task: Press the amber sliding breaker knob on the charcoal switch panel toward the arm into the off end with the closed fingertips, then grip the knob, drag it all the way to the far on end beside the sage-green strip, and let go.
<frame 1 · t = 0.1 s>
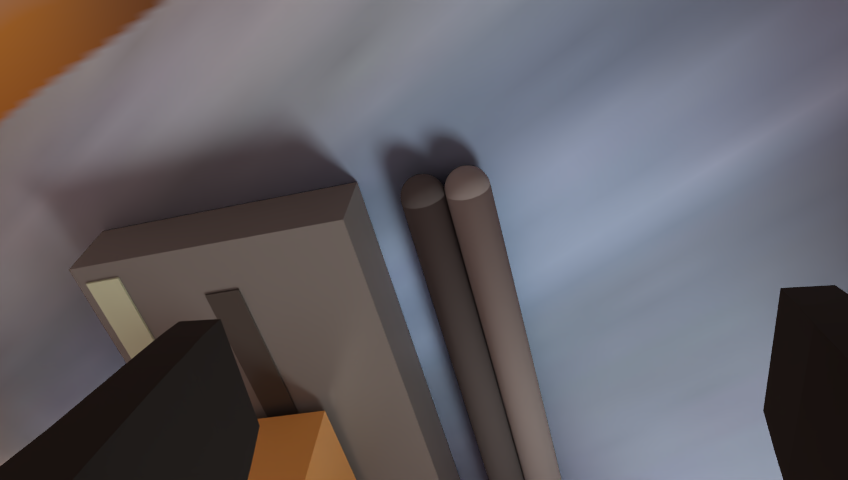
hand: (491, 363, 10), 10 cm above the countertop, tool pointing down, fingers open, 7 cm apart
switch panel: (316, 407, 25), on the countertop
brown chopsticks: (502, 384, 23), on the countertop
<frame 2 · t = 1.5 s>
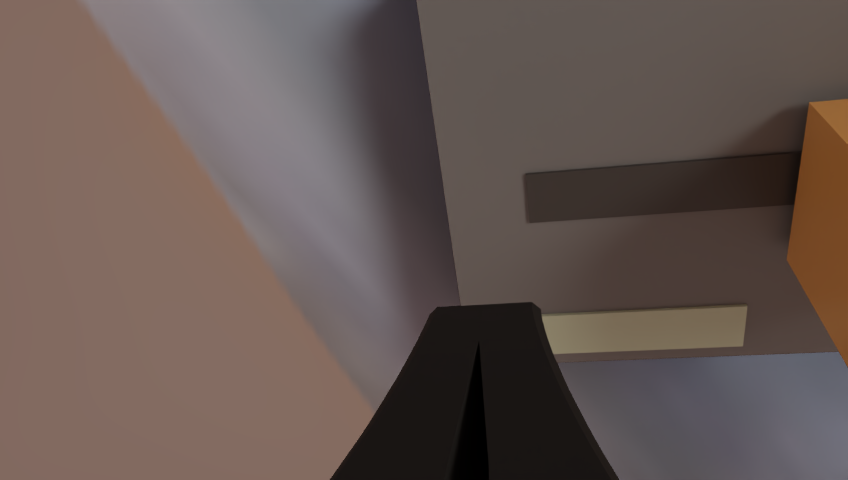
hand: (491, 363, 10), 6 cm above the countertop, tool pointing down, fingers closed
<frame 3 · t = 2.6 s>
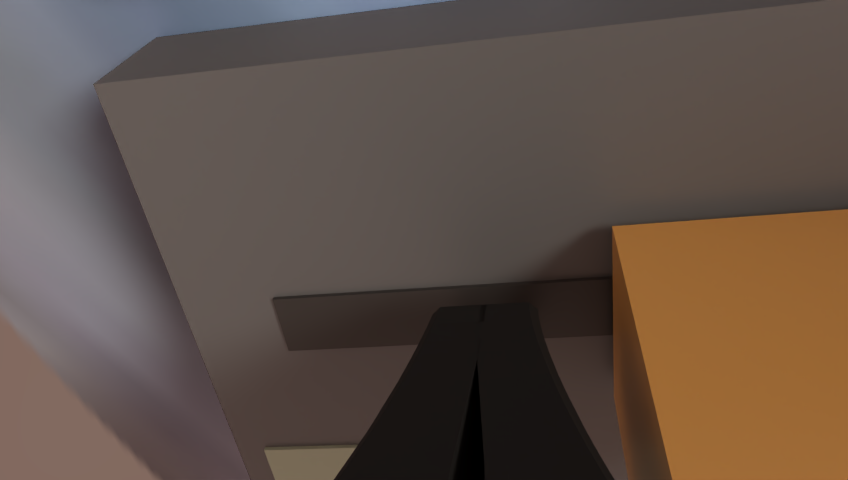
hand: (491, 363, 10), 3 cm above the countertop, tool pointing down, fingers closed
breaker knob: (827, 437, 8), point 5 cm above the countertop, slide at -0.4 cm, touching gripper
switch panel: (696, 224, 12), on the countertop
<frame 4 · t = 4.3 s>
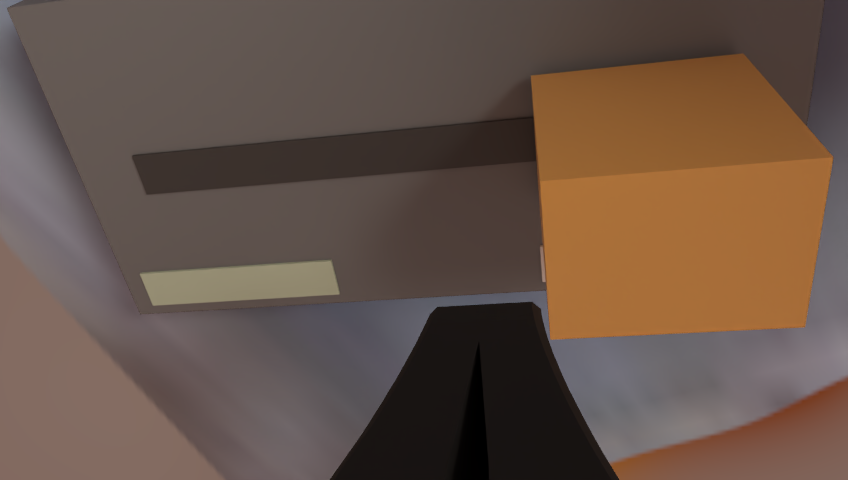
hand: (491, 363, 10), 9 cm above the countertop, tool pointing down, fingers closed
breaker knob: (652, 187, 13), point 5 cm above the countertop, slide at -4.6 cm
switch panel: (425, 113, 18), on the countertop
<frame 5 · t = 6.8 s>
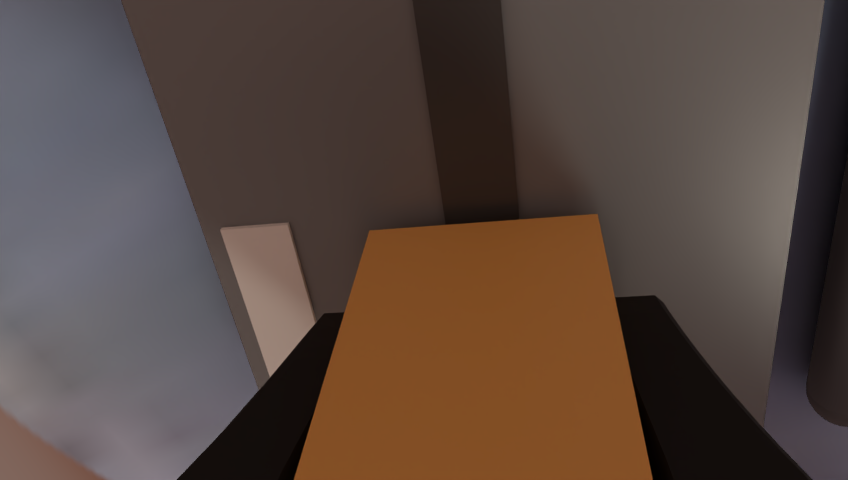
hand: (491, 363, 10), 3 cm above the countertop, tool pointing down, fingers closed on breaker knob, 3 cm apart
breaker knob: (491, 462, 9), point 5 cm above the countertop, slide at -4.5 cm, touching gripper
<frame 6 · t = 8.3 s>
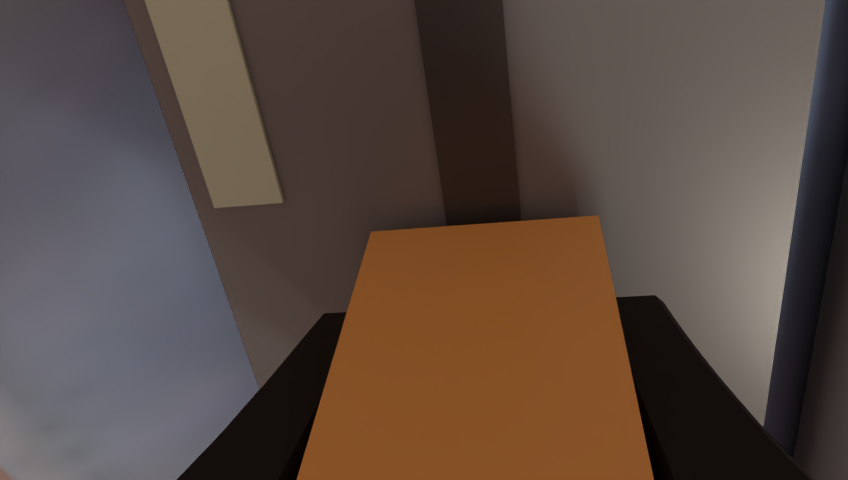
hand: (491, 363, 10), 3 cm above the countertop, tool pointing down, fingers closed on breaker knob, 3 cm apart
breaker knob: (493, 462, 9), point 5 cm above the countertop, slide at 0.1 cm, touching gripper
switch panel: (497, 257, 13), on the countertop
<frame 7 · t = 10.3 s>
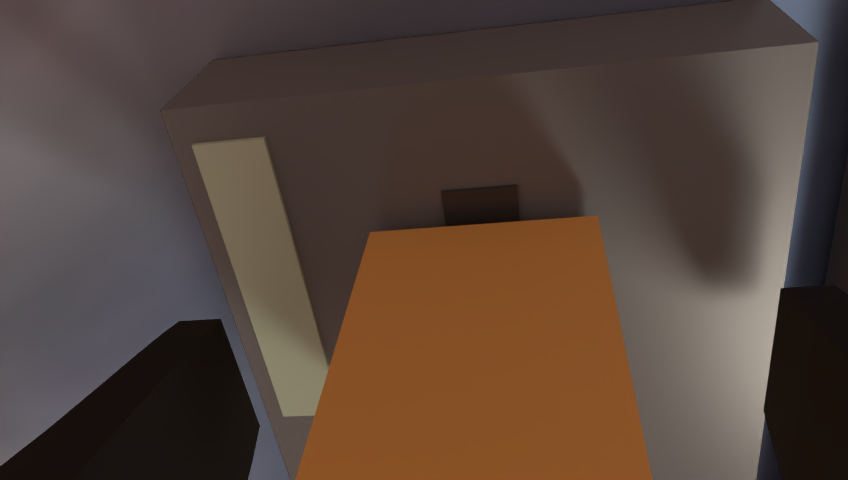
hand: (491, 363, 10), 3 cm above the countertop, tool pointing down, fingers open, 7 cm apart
breaker knob: (492, 463, 9), point 5 cm above the countertop, slide at 4.1 cm
switch panel: (514, 423, 15), on the countertop
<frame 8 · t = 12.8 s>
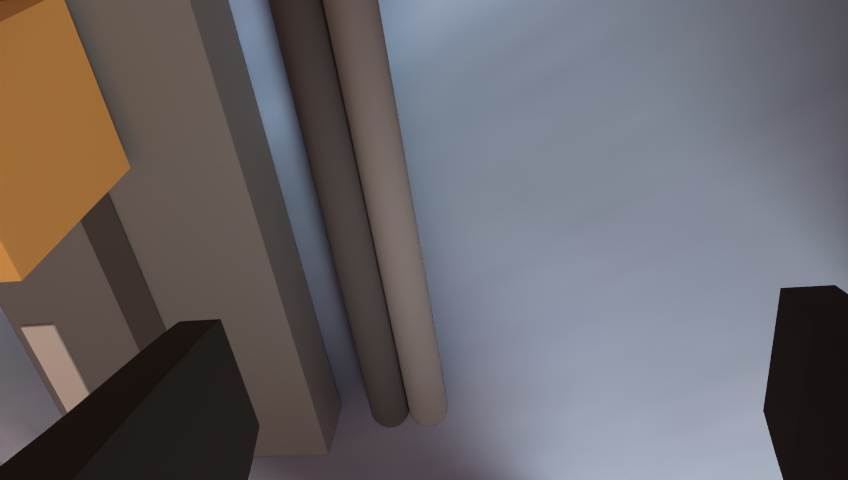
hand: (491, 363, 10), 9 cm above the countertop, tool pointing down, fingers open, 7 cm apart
switch panel: (143, 203, 20), on the countertop
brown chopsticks: (368, 184, 19), on the countertop
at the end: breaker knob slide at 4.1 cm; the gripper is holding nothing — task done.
